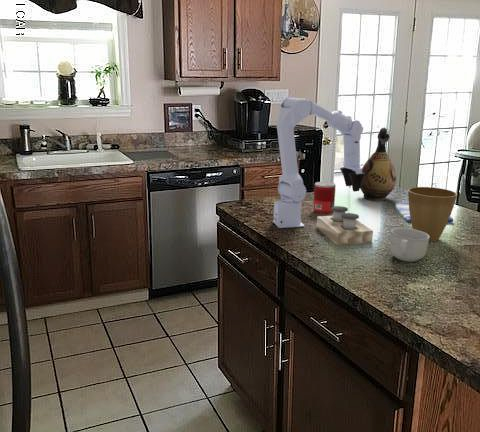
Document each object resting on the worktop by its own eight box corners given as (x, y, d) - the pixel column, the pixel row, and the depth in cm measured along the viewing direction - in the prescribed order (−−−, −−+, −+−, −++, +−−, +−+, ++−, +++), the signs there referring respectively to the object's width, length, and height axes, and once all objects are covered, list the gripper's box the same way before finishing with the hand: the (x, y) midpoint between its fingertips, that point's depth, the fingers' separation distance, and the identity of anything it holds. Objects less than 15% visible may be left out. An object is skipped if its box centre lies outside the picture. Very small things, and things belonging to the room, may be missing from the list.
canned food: (335, 214, 201) (337, 186, 198) (314, 213, 201) (315, 185, 198) (332, 208, 209) (334, 181, 206) (312, 208, 209) (313, 181, 206)
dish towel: (437, 208, 213) (437, 202, 212) (454, 225, 190) (455, 218, 189) (393, 207, 214) (394, 200, 213) (405, 224, 191) (406, 216, 191)
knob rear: (334, 223, 177) (334, 210, 175) (328, 219, 182) (328, 206, 181) (349, 222, 178) (350, 210, 176) (343, 218, 183) (344, 205, 182)
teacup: (397, 249, 163) (399, 224, 161) (432, 257, 156) (435, 232, 154) (377, 261, 152) (380, 235, 150) (414, 270, 146) (417, 243, 144)
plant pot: (446, 248, 164) (452, 199, 159) (398, 240, 171) (402, 192, 167) (454, 236, 176) (460, 189, 172) (409, 229, 183) (414, 184, 179)
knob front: (344, 231, 168) (345, 218, 167) (337, 226, 173) (338, 213, 172) (360, 230, 169) (361, 217, 168) (353, 225, 174) (354, 212, 173)
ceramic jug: (395, 203, 217) (402, 131, 209) (357, 201, 220) (362, 129, 212) (392, 194, 234) (398, 126, 225) (357, 192, 236) (362, 125, 228)
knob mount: (336, 244, 166) (337, 232, 165) (316, 227, 184) (317, 216, 183) (372, 242, 169) (373, 230, 168) (348, 225, 187) (349, 214, 186)
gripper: (369, 155, 186) (370, 192, 190) (355, 147, 199) (355, 182, 204) (350, 157, 185) (351, 194, 189) (337, 149, 198) (338, 184, 203)
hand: (352, 188), depth 196 cm, fingers open, 7 cm apart
